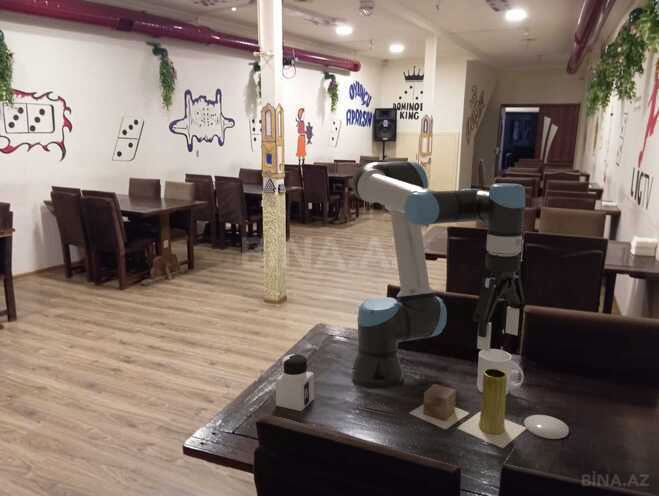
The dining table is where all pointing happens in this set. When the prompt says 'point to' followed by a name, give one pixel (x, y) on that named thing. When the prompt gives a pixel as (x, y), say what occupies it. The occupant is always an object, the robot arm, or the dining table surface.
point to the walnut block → (439, 402)
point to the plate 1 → (443, 424)
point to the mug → (497, 366)
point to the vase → (493, 401)
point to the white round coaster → (546, 426)
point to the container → (294, 383)
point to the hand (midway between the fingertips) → (497, 341)
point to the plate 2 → (497, 439)
